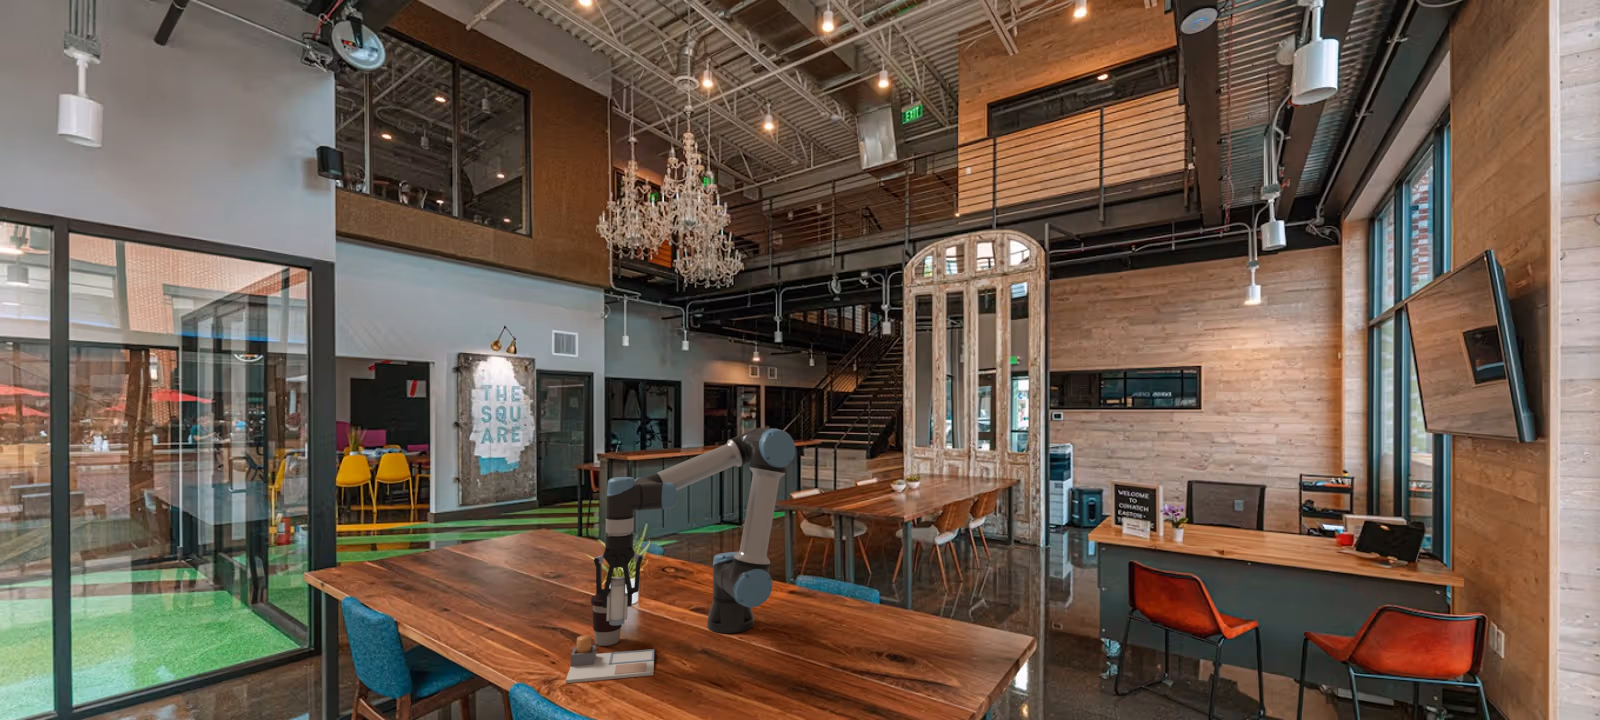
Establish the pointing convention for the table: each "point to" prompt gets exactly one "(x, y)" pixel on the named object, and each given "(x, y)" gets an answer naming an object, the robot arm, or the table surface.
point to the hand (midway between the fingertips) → (617, 618)
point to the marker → (617, 600)
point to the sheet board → (609, 665)
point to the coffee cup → (603, 624)
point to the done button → (584, 644)
